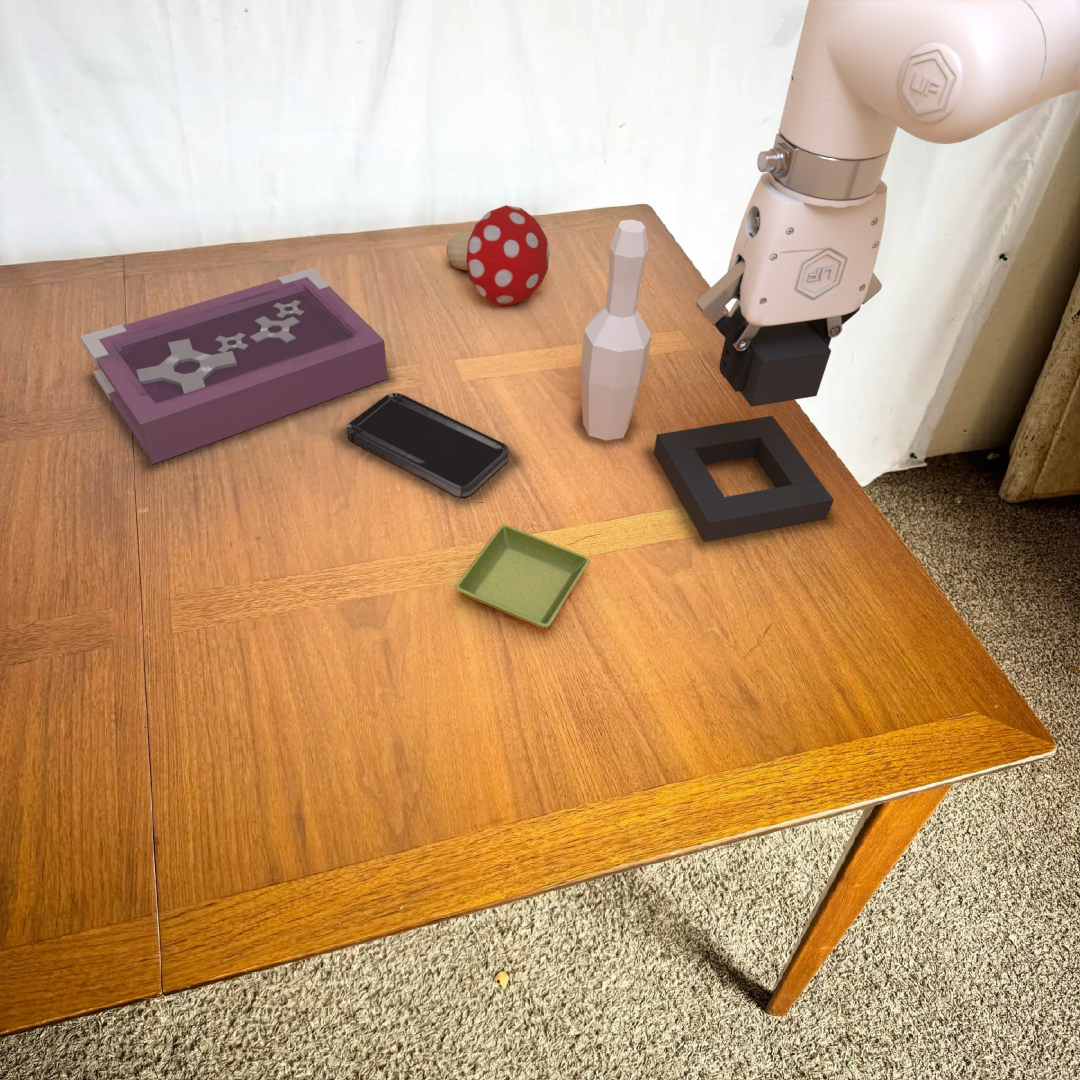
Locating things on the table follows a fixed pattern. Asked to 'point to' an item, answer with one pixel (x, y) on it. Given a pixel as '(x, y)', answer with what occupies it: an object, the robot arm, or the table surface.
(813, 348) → the black square block
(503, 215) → the decorative mushroom
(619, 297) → the faceted bottle
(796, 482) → the frame pad
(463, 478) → the phone
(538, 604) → the green square tray
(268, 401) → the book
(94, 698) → the table surface
